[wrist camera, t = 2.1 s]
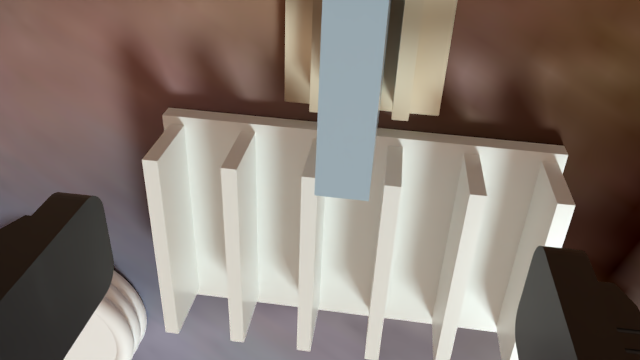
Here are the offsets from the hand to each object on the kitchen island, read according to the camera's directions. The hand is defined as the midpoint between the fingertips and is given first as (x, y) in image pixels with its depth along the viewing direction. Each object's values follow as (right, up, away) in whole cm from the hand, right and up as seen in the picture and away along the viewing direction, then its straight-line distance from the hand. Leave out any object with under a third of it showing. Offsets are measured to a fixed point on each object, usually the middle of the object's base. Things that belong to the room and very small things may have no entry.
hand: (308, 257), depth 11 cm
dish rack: (+2, -1, +25) cm, 25 cm away
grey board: (+3, +10, +16) cm, 19 cm away
